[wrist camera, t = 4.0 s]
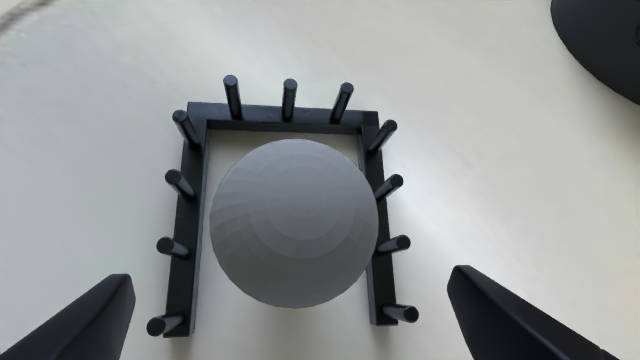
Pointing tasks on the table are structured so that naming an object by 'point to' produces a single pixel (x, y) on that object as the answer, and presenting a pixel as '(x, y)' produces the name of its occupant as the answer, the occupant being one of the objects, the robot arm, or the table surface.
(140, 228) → the table surface
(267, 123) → the drying rack
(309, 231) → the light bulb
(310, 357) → the table surface
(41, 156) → the table surface
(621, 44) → the dark grey stacked discs
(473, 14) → the table surface
